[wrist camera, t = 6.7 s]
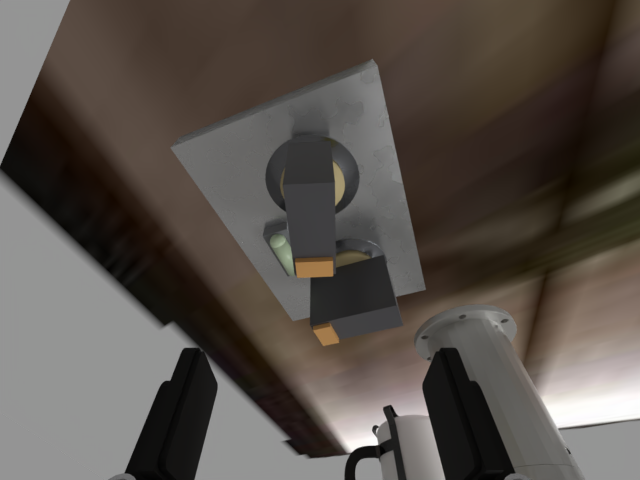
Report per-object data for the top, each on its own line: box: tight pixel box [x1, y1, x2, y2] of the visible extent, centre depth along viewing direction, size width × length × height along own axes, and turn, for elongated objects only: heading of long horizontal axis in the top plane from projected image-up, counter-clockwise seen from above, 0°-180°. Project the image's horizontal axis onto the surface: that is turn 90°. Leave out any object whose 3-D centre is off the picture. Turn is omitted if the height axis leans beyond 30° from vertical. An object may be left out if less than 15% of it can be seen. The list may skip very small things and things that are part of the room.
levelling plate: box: [171, 59, 426, 321], centre depth 28 cm, size 22×15×2 cm
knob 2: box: [310, 250, 403, 346], centre depth 27 cm, size 5×7×7 cm
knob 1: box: [280, 141, 345, 278], centre depth 21 cm, size 5×7×7 cm
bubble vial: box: [263, 222, 295, 276], centre depth 27 cm, size 5×2×2 cm, turn 20°
